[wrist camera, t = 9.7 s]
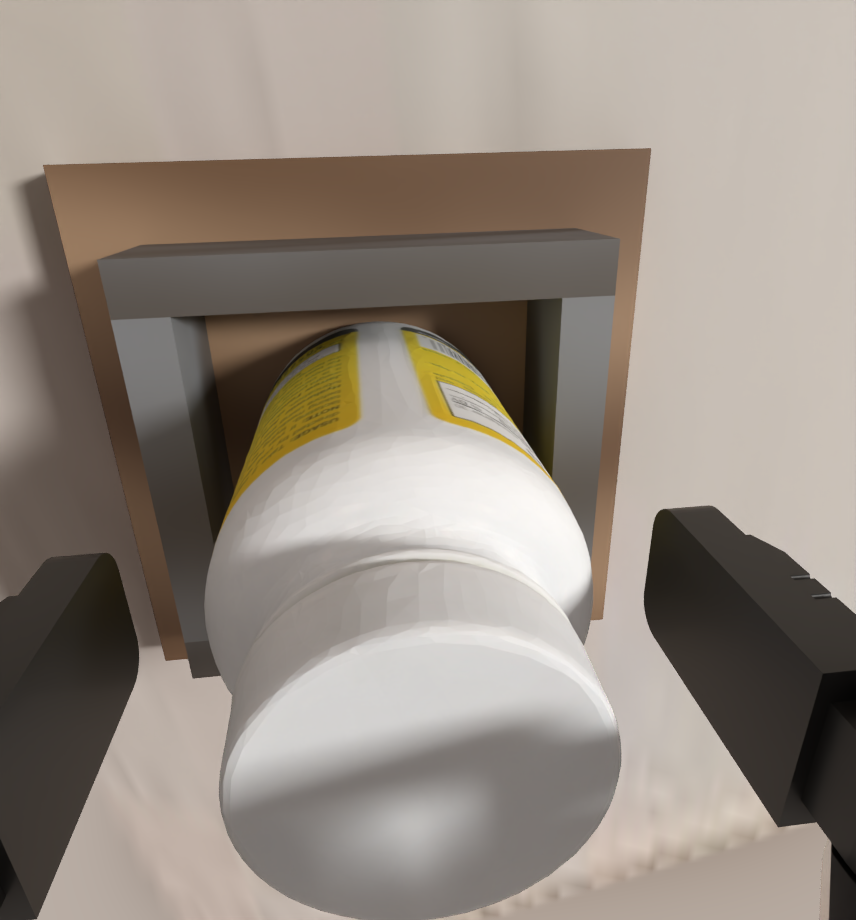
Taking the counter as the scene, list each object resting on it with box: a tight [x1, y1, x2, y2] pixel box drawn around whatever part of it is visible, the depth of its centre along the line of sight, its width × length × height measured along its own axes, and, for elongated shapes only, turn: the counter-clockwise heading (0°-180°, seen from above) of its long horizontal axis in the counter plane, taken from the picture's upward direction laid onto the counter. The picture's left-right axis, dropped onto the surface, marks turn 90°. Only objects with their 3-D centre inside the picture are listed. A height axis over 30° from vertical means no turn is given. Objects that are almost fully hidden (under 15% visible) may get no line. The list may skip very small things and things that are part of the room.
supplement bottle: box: [204, 321, 621, 920], centre depth 11 cm, size 5×5×10 cm
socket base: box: [43, 148, 651, 678], centre depth 15 cm, size 12×12×4 cm
